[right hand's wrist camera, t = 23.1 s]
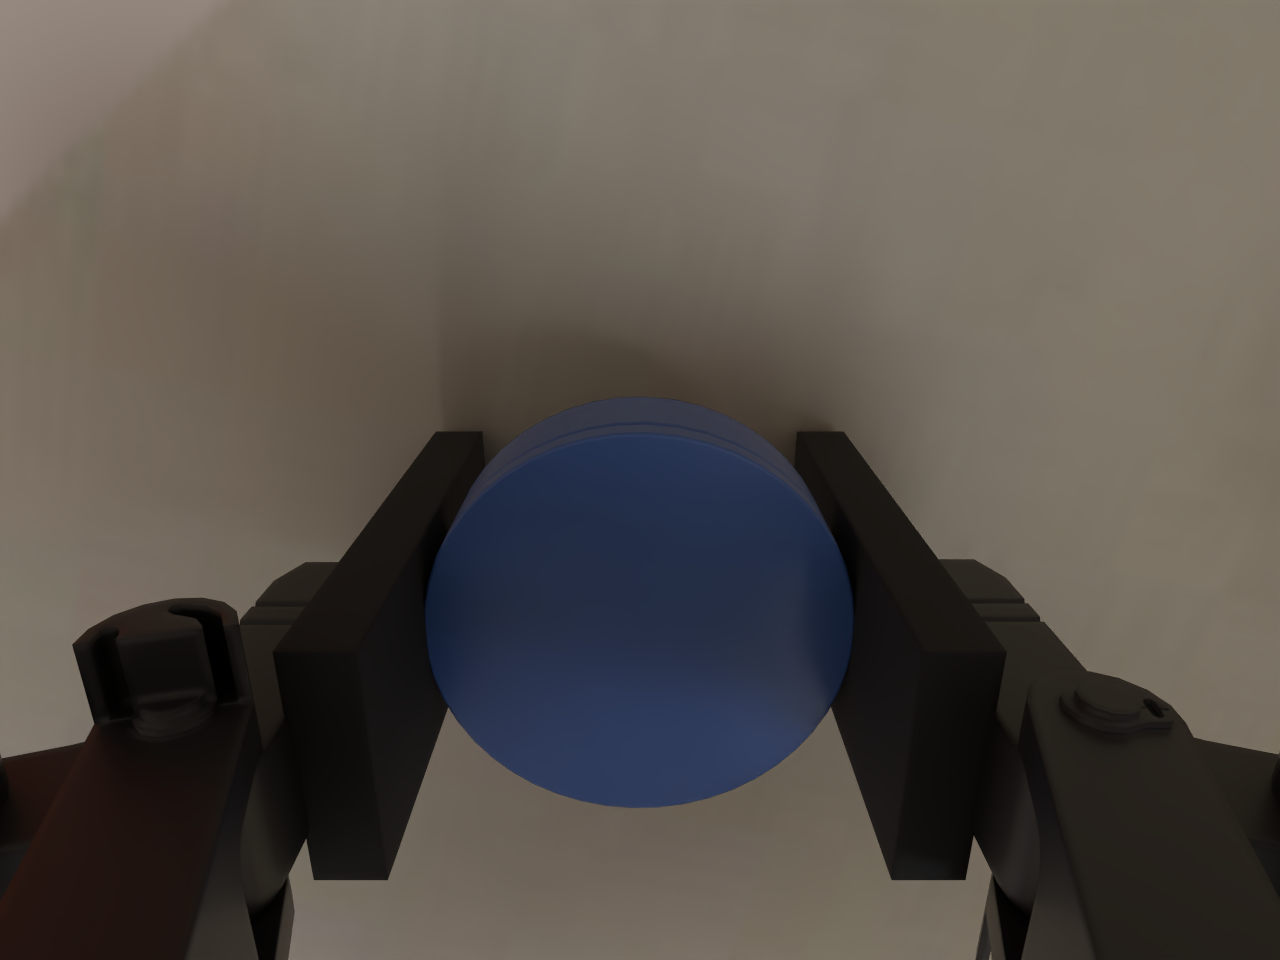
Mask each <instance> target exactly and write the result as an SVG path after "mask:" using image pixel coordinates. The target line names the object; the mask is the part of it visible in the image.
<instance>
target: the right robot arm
mask: <svg viewBox="0 0 1280 960" xmlns="http://www.w3.org/2000/svg"><path fill="white" fill-rule="evenodd" d="M484 468H485V464H484V450H483V435H482V432H435V434H434V435H433V436H432V438H431V439H430V440H429V442H428V443H427V444H426V446H425V447H424V448H423V450H422V451H421V453H420V454H419V455H418V457H417V458H416V459H415V461H414V462H413V463H412V465H411V466H410V467H409V469H408V470H407V471H406V473H405V474H404V475H403V477H402V478H401V479H400V481H399V482H398V483H397V485H396V486H395V487H394V489H393V490H392V492H391V493H390V494H389V496H388V497H387V498H386V500H385V501H384V502H383V504H382V505H381V506H380V508H379V509H378V510H377V512H376V513H375V514H374V516H373V517H372V518H371V520H370V521H369V522H368V524H367V525H366V526H365V528H364V529H363V531H362V532H361V533H360V535H359V536H358V537H357V539H356V540H355V541H354V543H353V544H352V545H351V547H350V548H349V549H348V551H347V552H346V553H345V555H344V556H343V557H342V559H341V560H340V561H339V562H305V563H304V564H302V565H300V566H299V567H297V568H295V569H293V570H292V571H290V572H288V573H287V574H285V575H283V576H281V577H280V578H278V579H276V580H275V581H273V583H272V584H271V585H270V586H269V587H268V588H267V590H266V591H265V592H264V593H263V594H262V595H261V597H260V598H259V599H258V600H257V601H256V605H255V607H251V608H250V609H249V610H248V612H247V613H246V614H245V615H244V616H243V617H242V619H241V620H240V625H239V621H238V616H237V611H236V610H234V609H233V608H232V607H230V606H229V605H227V604H226V603H225V602H221V601H216V600H211V599H206V598H180V599H170V600H165V601H160V602H155V603H150V604H144V605H141V606H138V607H136V608H133V609H130V610H127V611H124V612H121V613H118V614H116V615H113V616H111V617H109V618H108V619H106V620H104V621H102V622H100V623H99V624H97V625H95V626H93V627H91V628H90V629H88V630H87V631H86V632H85V633H84V634H83V635H82V636H81V637H80V638H79V639H78V640H77V641H76V642H75V643H73V644H72V646H73V649H74V653H75V656H76V660H77V663H78V667H79V670H80V674H81V678H82V681H83V685H84V688H85V692H86V695H87V699H88V702H89V706H90V710H91V713H92V717H93V720H94V726H93V728H92V730H91V732H90V733H89V735H88V737H87V739H86V741H85V742H82V743H78V744H74V745H70V746H64V747H59V748H54V749H49V750H44V751H38V752H33V753H28V754H23V755H18V756H13V757H7V758H1V755H0V960H288V956H289V949H290V941H291V934H292V927H293V919H294V904H293V897H292V891H291V886H290V881H289V876H288V874H289V872H290V870H291V868H292V866H293V864H294V862H295V860H296V858H297V856H298V854H299V852H300V850H301V848H302V846H303V844H304V842H305V840H306V839H307V845H308V850H309V856H310V861H311V866H312V872H313V877H314V880H388V878H389V875H390V872H391V869H392V866H393V863H394V861H395V858H396V855H397V852H398V849H399V846H400V843H401V841H402V838H403V835H404V832H405V829H406V826H407V823H408V821H409V818H410V815H411V812H412V809H413V806H414V803H415V800H416V798H417V795H418V792H419V789H420V786H421V783H422V780H423V778H424V775H425V772H426V769H427V766H428V763H429V760H430V758H431V755H432V752H433V749H434V746H435V743H436V740H437V738H438V735H439V732H440V729H441V726H442V723H443V720H444V718H445V715H446V712H447V709H448V705H447V704H446V702H445V701H444V698H443V696H442V694H441V692H440V690H439V687H438V685H437V683H436V681H435V679H434V675H433V672H432V669H431V665H430V662H429V654H428V645H427V636H426V626H425V615H424V602H425V596H426V590H427V584H428V579H429V576H430V573H431V570H432V567H433V564H434V561H435V558H436V555H437V553H438V551H439V549H440V547H441V545H442V543H443V541H444V539H445V537H446V535H447V533H448V531H449V529H450V527H451V525H452V523H453V521H454V519H455V518H456V516H457V514H458V512H459V510H460V508H461V506H462V504H463V502H464V500H465V498H466V496H467V494H468V492H469V490H470V488H471V486H472V485H473V484H474V482H475V481H476V479H477V478H478V476H479V475H480V474H481V472H482V471H483V469H484ZM795 470H796V471H797V472H798V474H799V475H800V476H801V477H802V479H803V481H804V482H805V484H806V486H807V487H808V489H809V491H810V493H811V494H812V496H813V498H814V500H815V502H816V504H817V506H818V507H819V509H820V511H821V513H822V515H823V517H824V519H825V521H826V523H827V525H828V527H829V529H830V531H831V534H832V535H833V537H834V539H835V541H836V543H837V545H838V547H839V550H840V552H841V555H842V557H843V560H844V562H845V565H846V567H847V570H848V574H849V578H850V583H851V587H852V591H853V598H854V610H855V620H854V630H853V640H852V649H851V656H850V661H849V666H848V669H847V672H846V674H845V677H844V679H843V682H842V685H841V687H840V690H839V692H838V694H837V696H836V697H835V699H834V701H833V703H832V705H831V708H832V711H833V713H834V716H835V719H836V722H837V725H838V728H839V731H840V733H841V736H842V739H843V742H844V745H845V748H846V751H847V754H848V756H849V759H850V762H851V765H852V768H853V771H854V774H855V776H856V779H857V782H858V785H859V788H860V791H861V794H862V796H863V799H864V802H865V805H866V808H867V811H868V814H869V816H870V819H871V822H872V825H873V828H874V831H875V834H876V836H877V839H878V842H879V845H880V848H881V851H882V854H883V857H884V859H885V862H886V865H887V868H888V871H889V874H890V877H891V879H892V880H966V874H967V869H968V863H969V858H970V852H971V847H972V841H973V836H975V838H976V841H977V843H978V845H979V847H980V849H981V851H982V853H983V855H984V857H985V859H986V861H987V863H988V865H989V867H990V869H991V871H992V876H991V881H990V886H989V891H988V896H987V901H986V906H985V911H984V916H983V921H982V926H981V932H980V937H979V942H978V947H977V953H976V960H989V955H990V952H991V954H992V960H1280V753H1279V755H1278V754H1273V753H1267V752H1262V751H1257V750H1252V749H1246V748H1241V747H1236V746H1231V745H1226V744H1220V743H1215V742H1210V741H1205V740H1201V739H1197V738H1194V737H1193V736H1192V734H1191V732H1190V730H1189V728H1188V726H1187V724H1186V723H1185V721H1184V720H1183V719H1182V718H1181V717H1180V716H1179V714H1178V713H1177V712H1176V711H1175V710H1174V709H1173V707H1172V706H1171V705H1169V704H1168V703H1166V702H1165V701H1163V700H1162V699H1160V698H1159V697H1157V696H1156V695H1154V694H1153V693H1151V692H1150V691H1148V690H1146V689H1144V688H1141V687H1139V686H1136V685H1134V684H1132V683H1129V682H1127V681H1124V680H1122V679H1119V678H1116V677H1111V676H1107V675H1103V674H1098V673H1094V672H1089V671H1086V669H1085V668H1084V667H1083V666H1082V665H1081V664H1080V663H1079V661H1078V660H1077V659H1076V658H1075V657H1074V656H1073V654H1072V653H1071V652H1070V651H1069V650H1068V649H1067V648H1066V646H1065V645H1064V644H1063V643H1062V642H1061V641H1060V640H1059V638H1058V637H1057V636H1056V635H1055V634H1054V633H1053V631H1052V630H1051V629H1050V628H1049V627H1048V626H1047V625H1046V623H1045V622H1040V617H1039V615H1038V614H1037V613H1036V612H1035V611H1034V610H1033V609H1032V607H1031V606H1030V605H1029V604H1025V602H1024V598H1023V597H1022V596H1021V595H1020V594H1019V592H1018V591H1017V590H1016V589H1015V588H1014V587H1013V586H1012V584H1011V583H1010V582H1009V581H1008V580H1007V579H1006V578H1005V577H1004V576H1002V575H1000V574H998V573H997V572H995V571H993V570H991V569H990V568H988V567H986V566H985V565H983V564H981V563H979V562H978V561H976V560H974V559H938V558H937V557H936V556H935V554H934V553H933V552H932V550H931V549H930V547H929V546H928V545H927V543H926V542H925V541H924V539H923V538H922V537H921V535H920V534H919V533H918V531H917V530H916V529H915V527H914V526H913V525H912V523H911V522H910V521H909V519H908V518H907V517H906V515H905V514H904V512H903V511H902V510H901V508H900V507H899V506H898V504H897V503H896V502H895V500H894V499H893V498H892V496H891V495H890V494H889V492H888V491H887V490H886V488H885V487H884V486H883V484H882V483H881V482H880V480H879V479H878V478H877V476H876V475H875V473H874V472H873V471H872V469H871V468H870V467H869V465H868V464H867V463H866V461H865V460H864V459H863V457H862V456H861V455H860V453H859V452H858V451H857V449H856V448H855V447H854V445H853V444H852V443H851V441H850V440H849V439H848V437H847V436H846V434H845V433H844V432H797V442H796V456H795Z"/></svg>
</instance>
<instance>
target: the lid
mask: <svg viewBox="0 0 1280 960" xmlns="http://www.w3.org/2000/svg"><path fill="white" fill-rule="evenodd" d="M424 615H425V626H426V636H427V645H428V654H429V662H430V665H431V669H432V672H433V675H434V679H435V681H436V683H437V685H438V687H439V690H440V692H441V694H442V696H443V698H444V701H445V702H446V704H447V705H448V707H449V708H450V710H451V712H452V713H453V715H454V716H455V718H456V719H457V721H458V722H459V724H460V725H461V726H462V727H463V728H464V729H465V731H466V732H467V733H468V734H469V735H470V737H471V738H472V739H473V740H474V741H475V742H476V743H477V744H478V745H479V746H480V747H481V748H482V749H484V750H485V751H486V752H487V753H488V754H489V755H490V756H491V757H492V758H494V759H495V760H496V761H498V762H499V763H501V764H502V765H503V766H505V767H506V768H507V769H509V770H510V771H512V772H513V773H515V774H517V775H519V776H520V777H522V778H524V779H526V780H528V781H529V782H531V783H533V784H535V785H537V786H540V787H542V788H545V789H547V790H549V791H552V792H554V793H556V794H559V795H563V796H566V797H569V798H573V799H576V800H579V801H583V802H589V803H594V804H600V805H605V806H615V807H627V808H651V807H665V806H672V805H680V804H686V803H690V802H694V801H699V800H703V799H707V798H710V797H713V796H716V795H719V794H722V793H724V792H727V791H730V790H733V789H735V788H737V787H739V786H741V785H743V784H745V783H747V782H749V781H751V780H754V779H756V778H757V777H759V776H760V775H762V774H763V773H765V772H767V771H768V770H770V769H771V768H773V767H775V766H776V765H777V764H779V763H780V762H781V761H782V760H784V759H785V758H786V757H787V756H789V755H790V754H791V753H792V752H793V751H795V750H796V749H797V748H798V747H799V746H800V745H801V744H802V743H803V742H804V741H805V739H806V738H807V737H808V736H809V735H810V734H811V733H812V732H813V731H814V730H815V728H816V727H817V726H818V724H819V723H820V722H821V720H822V719H823V717H824V716H825V715H826V713H827V712H828V710H829V708H830V707H831V705H832V703H833V701H834V699H835V697H836V696H837V694H838V692H839V690H840V687H841V685H842V682H843V679H844V677H845V674H846V672H847V669H848V666H849V661H850V656H851V649H852V640H853V630H854V620H855V610H854V598H853V591H852V587H851V583H850V578H849V574H848V570H847V567H846V565H845V562H844V560H843V557H842V555H841V552H840V550H839V547H838V545H837V543H836V541H835V539H834V537H833V535H832V534H831V531H830V529H829V527H828V525H827V523H826V521H825V519H824V517H823V515H822V513H821V511H820V509H819V507H818V506H817V504H816V502H815V500H814V498H813V496H812V494H811V493H810V491H809V489H808V487H807V486H806V484H805V482H804V481H803V479H802V477H801V476H800V475H799V474H798V472H797V471H796V470H795V469H794V467H793V466H792V465H791V464H790V462H789V461H788V460H787V459H786V458H785V457H784V456H783V455H782V454H781V453H780V452H779V451H778V450H777V449H776V448H775V447H774V446H773V445H772V444H770V443H769V442H768V441H767V440H766V439H764V438H763V437H761V436H760V435H759V434H757V433H756V432H754V431H753V430H752V429H750V428H749V427H747V426H745V425H743V424H742V423H740V422H738V421H736V420H734V419H732V418H730V417H728V416H726V415H724V414H722V413H719V412H716V411H714V410H711V409H708V408H705V407H703V406H700V405H696V404H692V403H687V402H683V401H679V400H674V399H665V398H655V397H620V398H613V399H607V400H601V401H594V402H590V403H587V404H583V405H580V406H577V407H573V408H570V409H567V410H564V411H562V412H560V413H558V414H555V415H553V416H551V417H549V418H546V419H544V420H542V421H541V422H539V423H537V424H536V425H534V426H532V427H531V428H529V429H527V430H526V431H524V432H522V433H521V434H520V435H518V436H517V437H516V438H515V439H514V440H512V441H511V442H510V443H509V444H507V445H506V446H505V447H504V448H502V449H501V450H500V452H499V453H498V454H497V455H496V456H495V457H494V458H493V459H492V460H491V461H490V462H489V463H488V464H487V465H486V467H485V468H484V469H483V471H482V472H481V474H480V475H479V476H478V478H477V479H476V481H475V482H474V484H473V485H472V486H471V488H470V490H469V492H468V494H467V496H466V498H465V500H464V502H463V504H462V506H461V508H460V510H459V512H458V514H457V516H456V518H455V519H454V521H453V523H452V525H451V527H450V529H449V531H448V533H447V535H446V537H445V539H444V541H443V543H442V545H441V547H440V549H439V551H438V553H437V555H436V558H435V561H434V564H433V567H432V570H431V573H430V576H429V579H428V584H427V590H426V596H425V602H424Z"/></svg>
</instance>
